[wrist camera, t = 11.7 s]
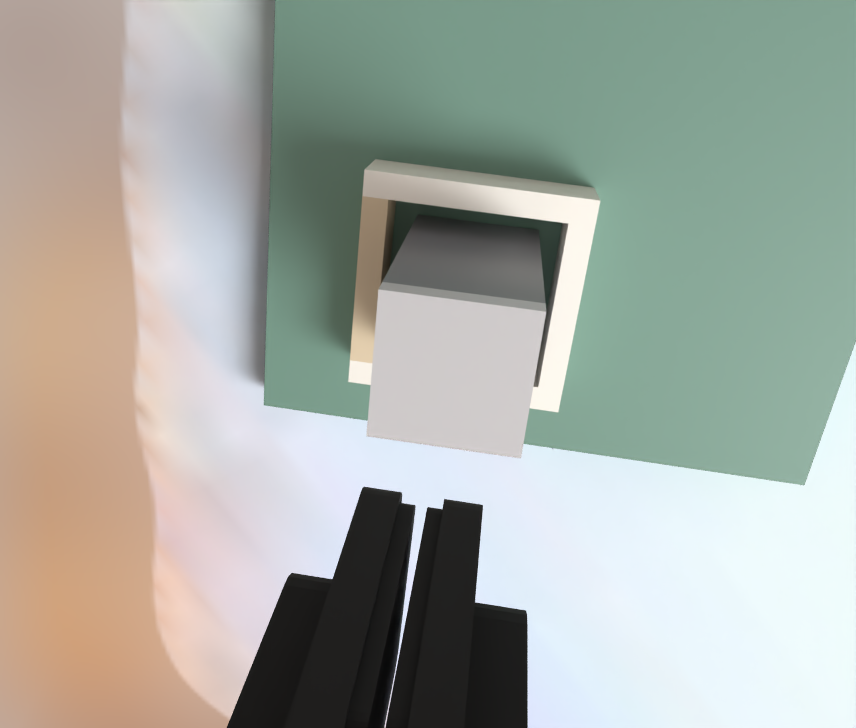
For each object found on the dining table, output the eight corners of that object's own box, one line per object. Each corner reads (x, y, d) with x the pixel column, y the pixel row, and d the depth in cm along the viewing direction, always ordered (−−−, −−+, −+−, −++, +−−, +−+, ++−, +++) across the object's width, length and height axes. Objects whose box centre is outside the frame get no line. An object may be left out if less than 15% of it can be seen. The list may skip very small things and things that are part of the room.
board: (288, -75, 24) (256, -88, 21) (955, 2, 23) (1018, -1, 20) (272, 391, 31) (247, 430, 28) (793, 468, 30) (823, 516, 27)
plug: (417, 214, 26) (378, 289, 19) (538, 229, 26) (546, 311, 19) (406, 326, 28) (366, 436, 20) (520, 342, 28) (520, 458, 20)
